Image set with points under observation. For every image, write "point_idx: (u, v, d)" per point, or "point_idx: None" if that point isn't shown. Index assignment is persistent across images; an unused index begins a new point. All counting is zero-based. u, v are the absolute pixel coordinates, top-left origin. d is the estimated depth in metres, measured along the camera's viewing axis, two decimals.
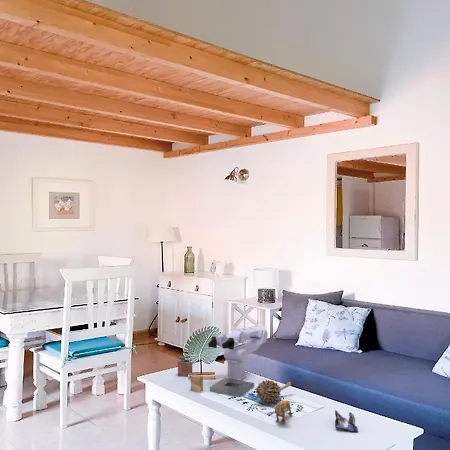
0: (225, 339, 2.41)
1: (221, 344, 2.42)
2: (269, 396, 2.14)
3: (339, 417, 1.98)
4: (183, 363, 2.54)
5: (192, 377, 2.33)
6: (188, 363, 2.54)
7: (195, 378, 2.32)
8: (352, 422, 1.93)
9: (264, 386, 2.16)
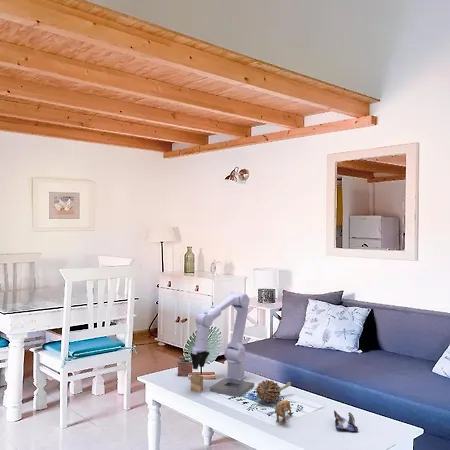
0: None
1: None
2: (269, 396, 2.14)
3: (338, 417, 1.98)
4: (183, 363, 2.54)
5: (192, 377, 2.33)
6: (188, 363, 2.54)
7: (195, 378, 2.32)
8: (352, 422, 1.93)
9: (264, 386, 2.16)
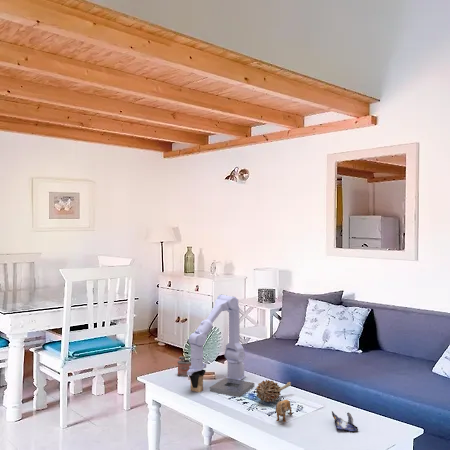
0: None
1: None
2: (269, 396, 2.14)
3: (336, 418, 1.98)
4: (183, 363, 2.54)
5: None
6: (188, 363, 2.54)
7: None
8: (351, 422, 1.93)
9: (264, 386, 2.16)
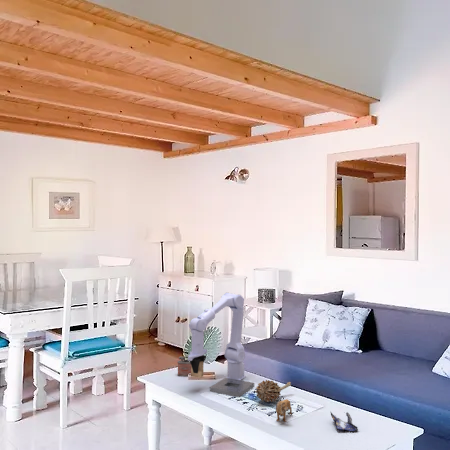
0: None
1: None
2: (269, 396, 2.14)
3: (334, 418, 1.97)
4: (183, 363, 2.54)
5: None
6: (188, 363, 2.54)
7: None
8: (350, 422, 1.93)
9: (264, 386, 2.16)
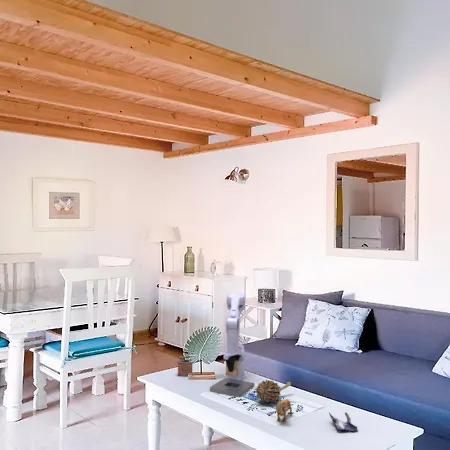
0: None
1: None
2: (269, 396, 2.14)
3: (333, 418, 1.97)
4: (183, 363, 2.54)
5: None
6: (188, 363, 2.54)
7: None
8: (349, 422, 1.93)
9: (264, 386, 2.16)
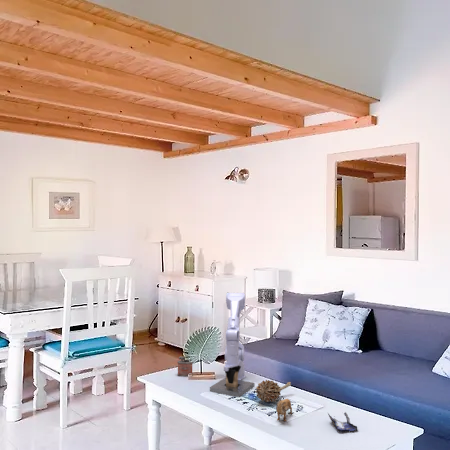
0: None
1: None
2: (269, 396, 2.14)
3: (331, 419, 1.97)
4: (183, 363, 2.54)
5: None
6: (188, 363, 2.54)
7: None
8: (348, 422, 1.93)
9: (264, 386, 2.16)
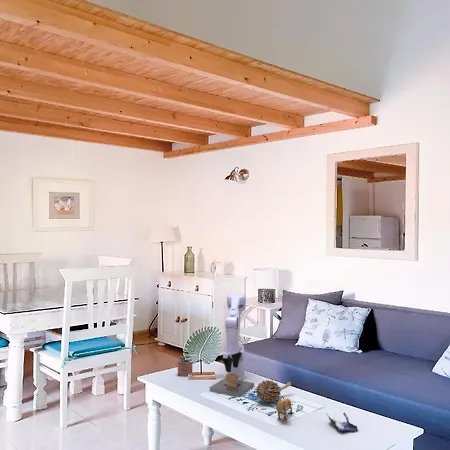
0: None
1: None
2: (269, 396, 2.14)
3: (330, 419, 1.96)
4: (183, 363, 2.54)
5: (227, 376, 2.35)
6: (188, 363, 2.54)
7: (230, 377, 2.34)
8: None
9: (264, 386, 2.16)
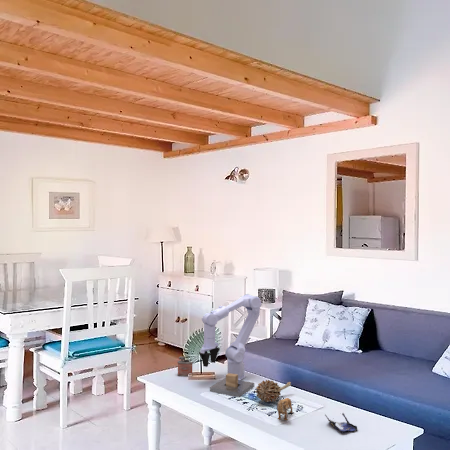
0: None
1: None
2: (269, 396, 2.14)
3: (329, 420, 1.95)
4: (183, 363, 2.54)
5: (227, 376, 2.35)
6: (188, 363, 2.54)
7: (230, 377, 2.34)
8: None
9: (264, 386, 2.16)
